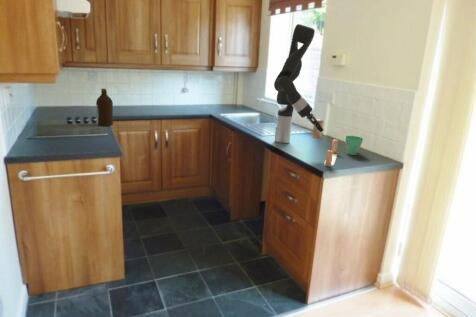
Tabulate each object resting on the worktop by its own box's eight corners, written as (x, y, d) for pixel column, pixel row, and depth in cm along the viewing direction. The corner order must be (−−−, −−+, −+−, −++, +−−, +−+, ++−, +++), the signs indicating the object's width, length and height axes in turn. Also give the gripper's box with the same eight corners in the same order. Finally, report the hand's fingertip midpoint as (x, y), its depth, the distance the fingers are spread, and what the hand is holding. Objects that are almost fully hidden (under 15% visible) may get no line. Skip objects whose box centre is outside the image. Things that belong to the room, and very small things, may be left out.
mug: (360, 157, 210) (363, 140, 207) (343, 154, 213) (345, 138, 210) (360, 151, 224) (362, 135, 221) (343, 149, 226) (346, 133, 224)
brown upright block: (311, 138, 199) (313, 120, 196) (312, 136, 204) (315, 118, 201) (320, 139, 197) (322, 121, 194) (321, 137, 202) (324, 120, 199)
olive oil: (114, 123, 258) (113, 88, 251) (112, 126, 248) (111, 89, 241) (98, 123, 256) (96, 87, 249) (96, 126, 246) (94, 89, 239)
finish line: (322, 165, 189) (324, 151, 187) (329, 152, 217) (331, 139, 215) (332, 167, 188) (334, 152, 185) (338, 153, 216) (340, 140, 213)
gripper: (309, 104, 188) (329, 128, 192) (305, 100, 202) (323, 123, 205) (298, 113, 190) (318, 137, 193) (294, 109, 203) (313, 131, 207)
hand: (321, 129), depth 199 cm, fingers closed on brown upright block, 5 cm apart
